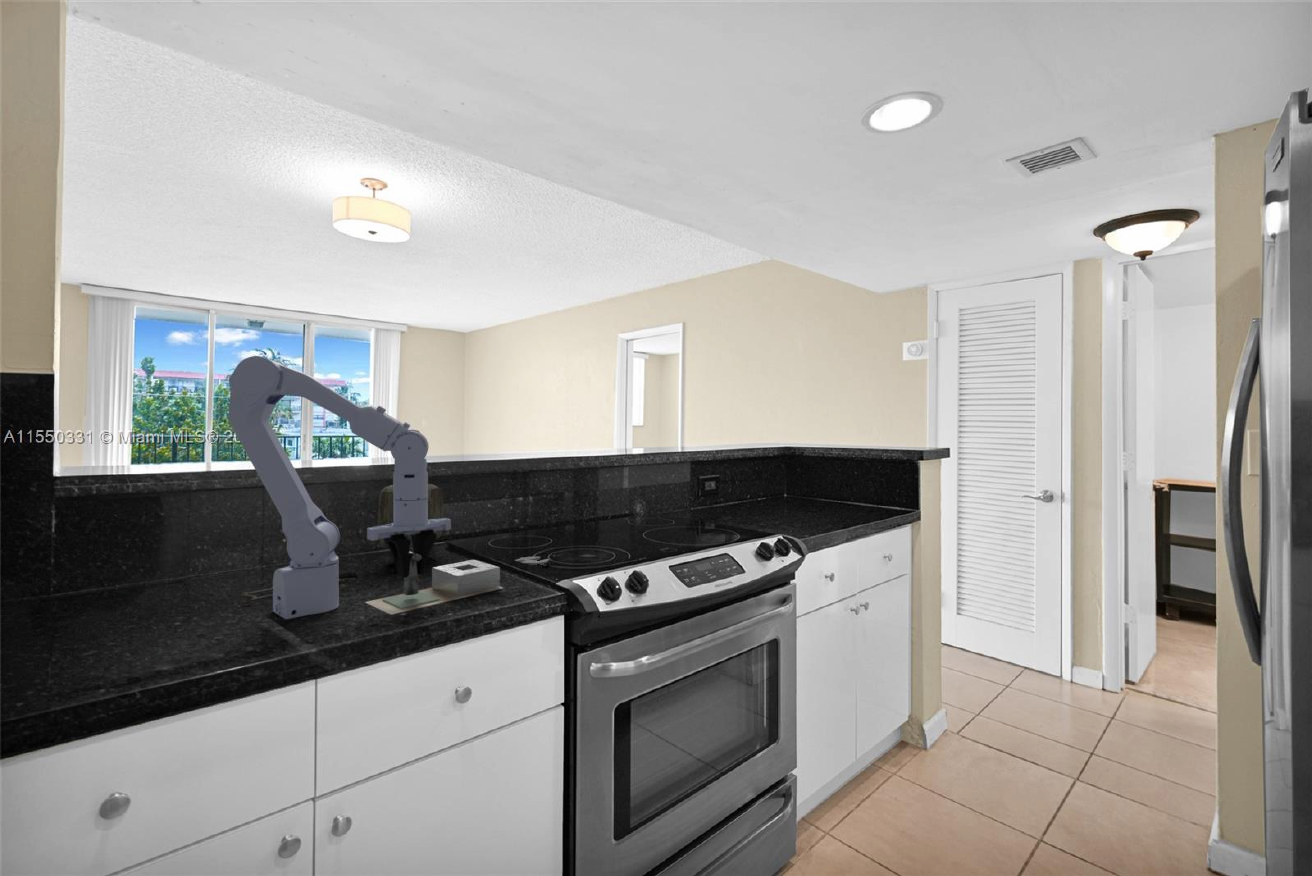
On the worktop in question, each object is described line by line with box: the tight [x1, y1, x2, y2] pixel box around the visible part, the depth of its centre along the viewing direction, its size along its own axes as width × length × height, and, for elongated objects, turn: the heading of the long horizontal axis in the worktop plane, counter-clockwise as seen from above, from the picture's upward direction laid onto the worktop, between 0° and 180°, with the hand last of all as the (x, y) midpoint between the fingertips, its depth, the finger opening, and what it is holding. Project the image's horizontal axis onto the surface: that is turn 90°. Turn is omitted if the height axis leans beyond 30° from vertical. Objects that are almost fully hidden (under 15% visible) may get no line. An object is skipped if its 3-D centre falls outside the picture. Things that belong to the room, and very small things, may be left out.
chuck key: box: [403, 550, 422, 595], centre depth 110 cm, size 2×6×7 cm, turn 49°
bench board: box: [364, 586, 503, 616], centre depth 114 cm, size 22×10×1 cm, turn 139°
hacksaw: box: [232, 569, 359, 608], centre depth 121 cm, size 24×10×2 cm, turn 136°
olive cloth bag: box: [377, 483, 444, 565], centre depth 146 cm, size 14×9×25 cm, turn 174°
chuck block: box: [431, 559, 501, 598], centre depth 118 cm, size 9×9×4 cm
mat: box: [382, 590, 439, 609], centre depth 110 cm, size 7×7×1 cm
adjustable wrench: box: [514, 556, 550, 566], centre depth 139 cm, size 25×6×2 cm, turn 114°
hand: (410, 574), depth 110 cm, fingers closed on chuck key, 2 cm apart
